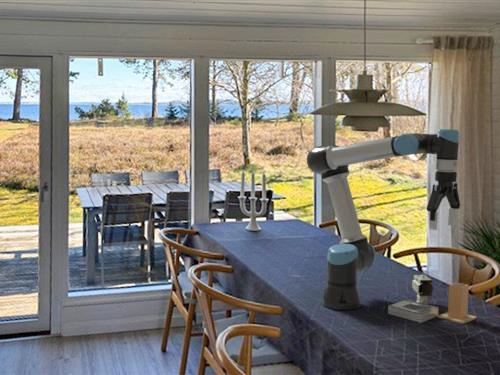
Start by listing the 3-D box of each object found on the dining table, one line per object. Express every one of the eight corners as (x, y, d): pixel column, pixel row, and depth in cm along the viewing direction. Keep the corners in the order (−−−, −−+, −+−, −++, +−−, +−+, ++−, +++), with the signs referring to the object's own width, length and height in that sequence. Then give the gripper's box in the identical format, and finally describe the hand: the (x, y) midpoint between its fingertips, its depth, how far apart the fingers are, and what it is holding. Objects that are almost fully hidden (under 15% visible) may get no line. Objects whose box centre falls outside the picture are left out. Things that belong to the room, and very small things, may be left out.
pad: (437, 317, 214) (438, 315, 214) (451, 311, 220) (451, 310, 220) (463, 324, 206) (463, 322, 206) (476, 318, 213) (476, 316, 213)
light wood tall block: (447, 316, 213) (449, 284, 212) (454, 313, 217) (455, 281, 215) (460, 319, 210) (462, 286, 208) (467, 316, 213) (468, 284, 212)
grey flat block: (388, 313, 218) (388, 305, 217) (405, 307, 226) (405, 298, 226) (421, 322, 208) (421, 314, 207) (438, 315, 216) (438, 307, 215)
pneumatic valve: (422, 299, 236) (423, 271, 235) (432, 308, 224) (434, 278, 223) (409, 299, 236) (410, 271, 234) (418, 308, 224) (419, 278, 223)
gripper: (437, 173, 202) (434, 232, 205) (472, 170, 219) (468, 225, 222) (418, 171, 208) (415, 229, 210) (453, 168, 225) (450, 222, 227)
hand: (442, 227), depth 216 cm, fingers open, 13 cm apart
